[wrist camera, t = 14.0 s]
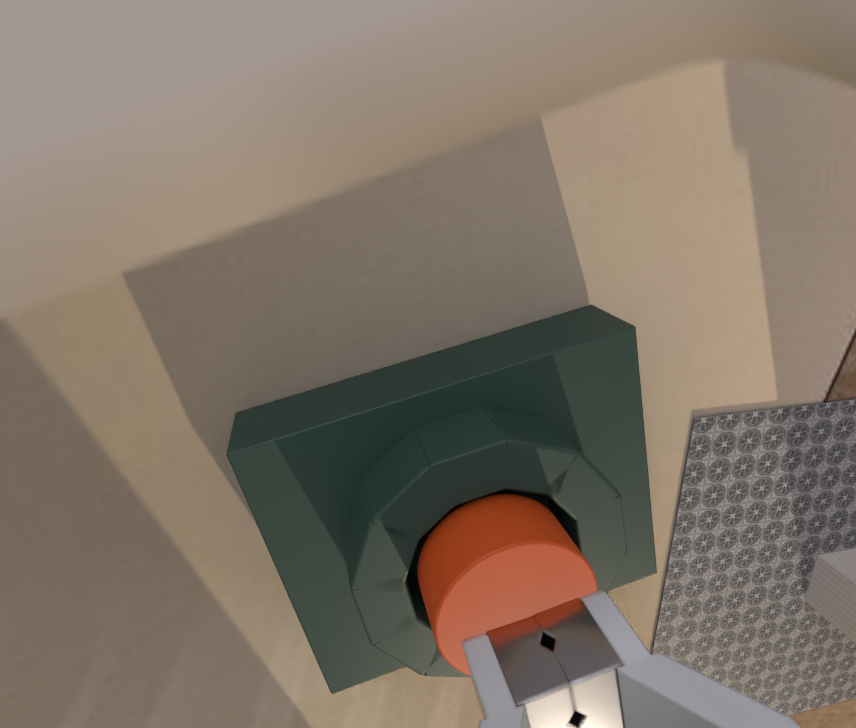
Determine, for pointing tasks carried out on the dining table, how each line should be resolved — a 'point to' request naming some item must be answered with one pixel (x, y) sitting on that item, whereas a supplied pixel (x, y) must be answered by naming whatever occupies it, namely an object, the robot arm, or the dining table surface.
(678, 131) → the dining table surface
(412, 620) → the dimmer block
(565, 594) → the button
